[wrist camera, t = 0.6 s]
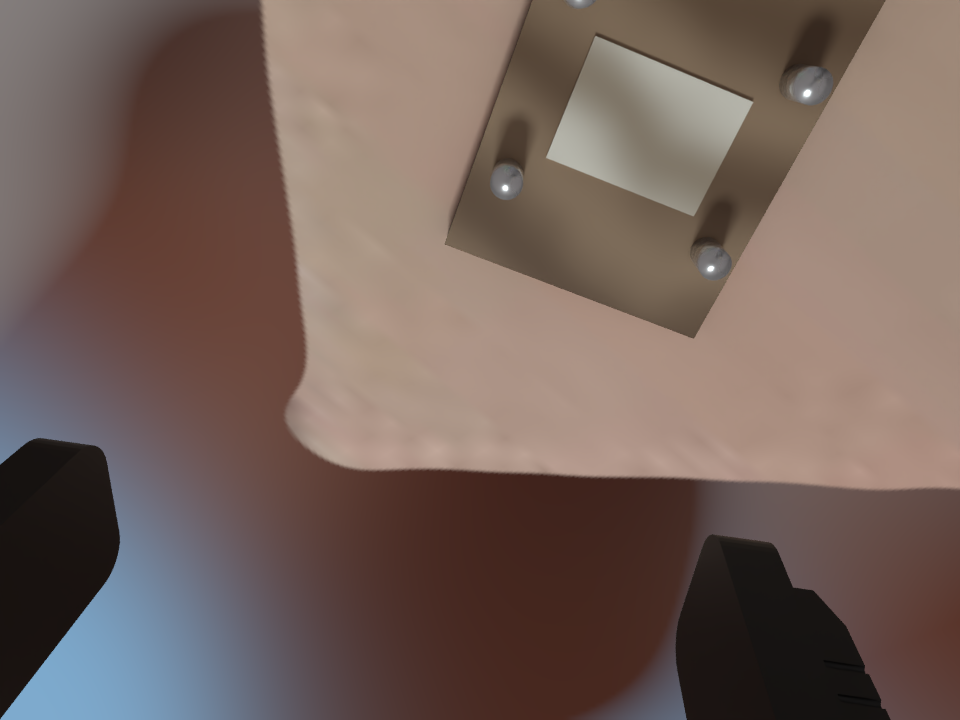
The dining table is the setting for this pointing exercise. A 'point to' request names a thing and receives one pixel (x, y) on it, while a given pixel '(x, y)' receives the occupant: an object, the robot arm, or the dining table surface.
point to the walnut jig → (650, 142)
